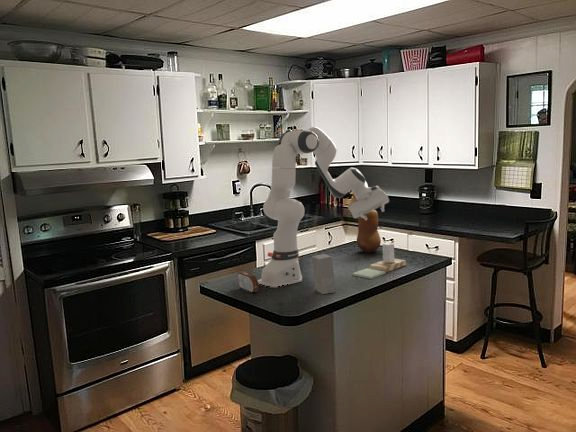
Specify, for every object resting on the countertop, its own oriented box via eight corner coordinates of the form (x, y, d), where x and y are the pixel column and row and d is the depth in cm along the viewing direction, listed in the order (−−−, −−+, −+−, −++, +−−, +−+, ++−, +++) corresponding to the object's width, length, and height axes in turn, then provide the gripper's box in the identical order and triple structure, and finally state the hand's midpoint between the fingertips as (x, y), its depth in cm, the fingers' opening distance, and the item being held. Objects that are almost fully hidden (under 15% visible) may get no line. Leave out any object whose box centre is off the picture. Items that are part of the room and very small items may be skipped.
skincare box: (335, 292, 210) (334, 256, 208) (320, 295, 208) (318, 258, 206) (328, 287, 218) (326, 252, 216) (313, 289, 217) (311, 254, 214)
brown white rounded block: (259, 294, 215) (258, 275, 214) (253, 295, 214) (252, 276, 212) (243, 286, 228) (241, 269, 227) (237, 288, 226) (235, 270, 225)
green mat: (370, 278, 228) (370, 276, 228) (352, 275, 236) (352, 273, 236) (385, 273, 235) (385, 271, 235) (366, 270, 243) (366, 268, 243)
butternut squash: (385, 250, 282) (384, 207, 278) (373, 255, 272) (371, 210, 268) (364, 248, 291) (363, 206, 287) (352, 253, 281) (350, 209, 277)
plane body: (385, 272, 237) (385, 267, 236) (370, 269, 243) (370, 264, 243) (405, 265, 248) (405, 260, 248) (390, 262, 255) (390, 257, 254)
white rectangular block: (389, 268, 243) (389, 245, 241) (383, 267, 246) (382, 244, 244) (394, 267, 246) (393, 243, 244) (387, 265, 249) (387, 242, 247)
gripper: (345, 202, 255) (354, 220, 246) (381, 184, 253) (391, 202, 243) (348, 209, 260) (357, 227, 250) (383, 192, 258) (394, 209, 248)
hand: (374, 215), depth 247 cm, fingers open, 8 cm apart
